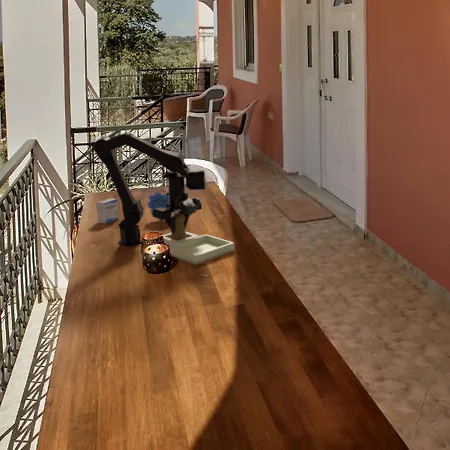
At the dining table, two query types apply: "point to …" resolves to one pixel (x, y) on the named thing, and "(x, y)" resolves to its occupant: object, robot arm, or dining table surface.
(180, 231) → the cork
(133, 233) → the robot arm
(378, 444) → the dining table surface
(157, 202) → the blue bumpy cluster
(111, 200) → the medicine box
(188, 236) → the socket block
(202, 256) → the parts tray
